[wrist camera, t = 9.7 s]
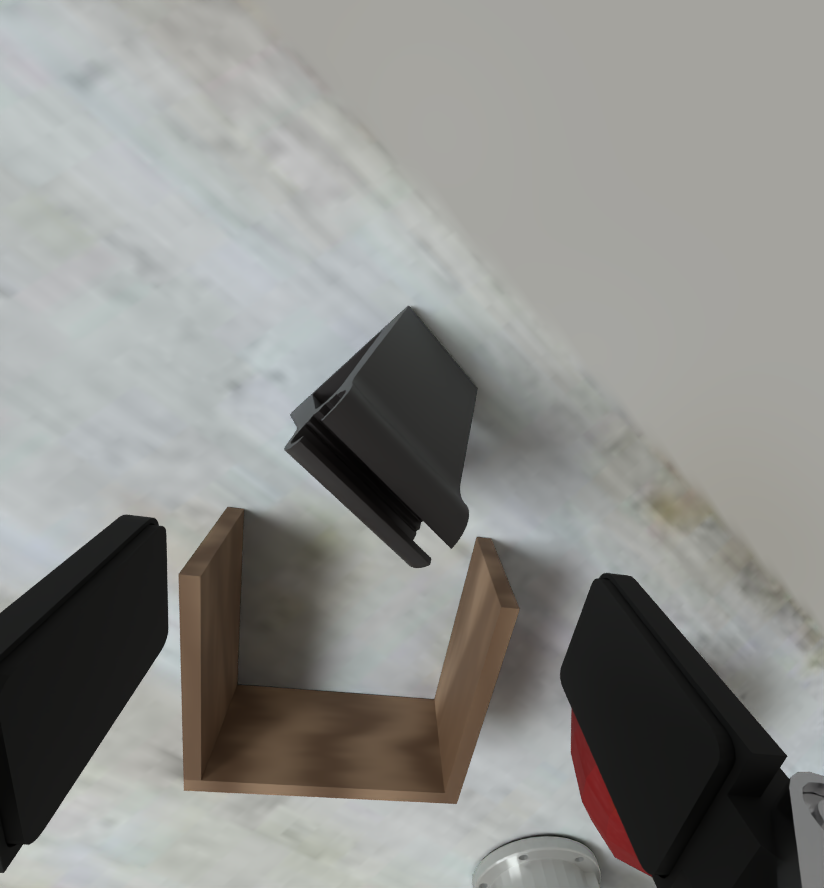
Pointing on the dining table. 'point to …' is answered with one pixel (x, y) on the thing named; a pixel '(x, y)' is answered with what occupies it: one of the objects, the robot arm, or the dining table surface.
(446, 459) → the phone stand
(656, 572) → the dining table surface
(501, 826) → the dining table surface
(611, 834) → the apple
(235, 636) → the open box
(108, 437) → the dining table surface
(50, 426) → the dining table surface
